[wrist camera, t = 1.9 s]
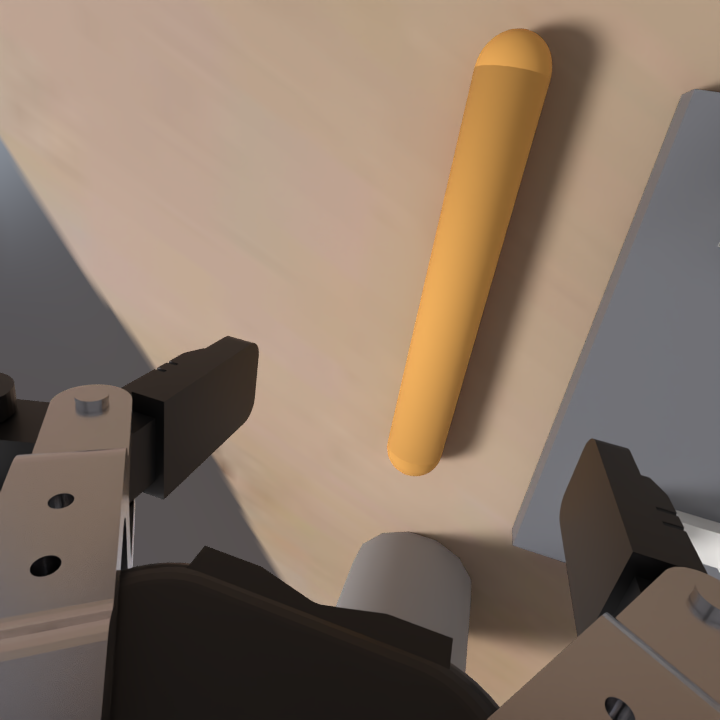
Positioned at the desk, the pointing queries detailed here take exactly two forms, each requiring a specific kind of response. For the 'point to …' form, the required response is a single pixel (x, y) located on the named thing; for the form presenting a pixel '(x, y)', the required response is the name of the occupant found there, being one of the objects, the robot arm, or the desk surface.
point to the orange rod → (468, 241)
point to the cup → (412, 586)
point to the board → (652, 349)
